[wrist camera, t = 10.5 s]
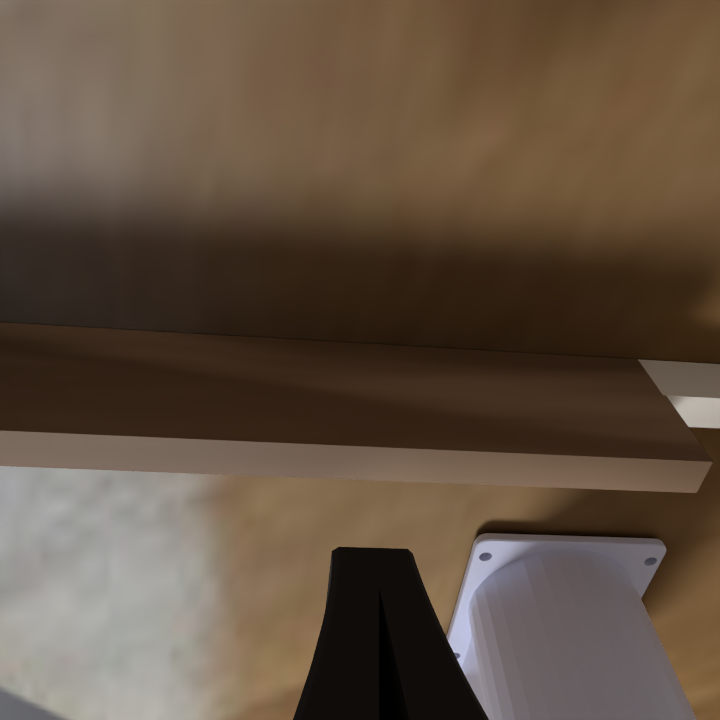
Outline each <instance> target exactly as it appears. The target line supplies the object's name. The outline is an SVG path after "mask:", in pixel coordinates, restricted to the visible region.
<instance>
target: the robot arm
mask: <svg viewBox="0 0 720 720" xmlns="http://www.w3.org/2000/svg"><path fill="white" fill-rule="evenodd" d="M665 553H666V547H665V545H664V544H663V542H662V541H661V540H660V539H653V538H622V537H591V536H560V535H529V534H498V533H485V534H482V535H479V536H478V537H477V538H476V539H475V541H474V544H473V547H472V551H471V554H470V558H469V561H468V565H467V568H466V572H465V575H464V579H463V582H462V585H461V589H460V592H459V596H458V599H457V603H456V606H455V610H454V613H453V617H452V620H451V624H450V627H449V631H448V634H447V638H446V636H445V634H444V632H443V629H442V627H441V625H440V623H439V621H438V618H437V616H436V614H435V611H434V609H433V607H432V604H431V602H430V600H429V597H428V595H427V592H426V590H425V587H424V585H423V582H422V579H421V577H420V574H419V571H418V568H417V565H416V562H415V559H414V556H413V554H412V553H411V552H410V551H409V550H408V549H391V548H357V547H338V548H336V549H335V550H333V551H332V556H331V565H330V574H329V583H328V592H327V601H326V610H325V614H324V619H323V623H322V627H321V631H320V635H319V638H318V642H317V646H316V650H315V653H314V657H313V661H312V664H311V667H310V671H309V674H308V677H307V680H306V683H305V686H304V689H303V692H302V695H301V698H300V701H299V704H298V707H297V710H296V713H295V716H294V718H293V720H697V719H696V717H695V715H694V712H693V710H692V708H691V706H690V704H689V702H688V699H687V697H686V695H685V693H684V691H683V689H682V686H681V684H680V682H679V680H678V678H677V676H676V673H675V671H674V669H673V667H672V665H671V663H670V660H669V658H668V656H667V654H666V652H665V650H664V647H663V645H662V643H661V641H660V639H659V637H658V634H657V632H656V630H655V628H654V626H653V624H652V621H651V619H650V617H649V615H648V613H647V611H646V608H645V606H644V604H643V602H642V600H641V598H642V596H643V594H644V593H645V591H646V589H647V587H648V585H649V583H650V581H651V579H652V578H653V576H654V574H655V572H656V570H657V568H658V566H659V565H660V563H661V561H662V559H663V557H664V555H665Z"/></svg>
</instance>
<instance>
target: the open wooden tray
mask: <svg viewBox="0 0 720 720" xmlns="http://www.w3.org/2000/svg"><path fill="white" fill-rule="evenodd" d="M712 463H713V461H712V460H711V458H710V457H709V455H708V454H707V452H706V451H705V450H704V448H703V447H702V445H701V444H700V443H699V441H698V440H697V438H696V437H695V435H694V434H693V433H692V431H691V430H690V428H689V427H688V426H687V424H686V423H685V421H684V420H683V419H682V417H681V416H680V414H679V413H678V411H677V410H676V409H675V407H674V406H673V404H672V403H671V402H670V400H669V399H668V397H667V396H666V395H663V394H662V393H661V392H660V390H659V389H658V387H657V386H656V384H655V383H654V382H653V380H652V379H651V377H650V376H649V374H648V373H647V372H646V370H645V369H644V367H643V366H642V364H641V363H640V362H639V360H638V359H623V358H606V357H589V356H572V355H554V354H537V353H520V352H503V351H486V350H469V349H451V348H434V347H417V346H400V345H383V344H366V343H348V342H331V341H314V340H297V339H280V338H263V337H246V336H228V335H211V334H194V333H177V332H160V331H143V330H125V329H108V328H91V327H74V326H57V325H40V324H23V323H5V322H0V466H18V467H44V468H69V469H95V470H120V471H146V472H171V473H197V474H222V475H248V476H273V477H299V478H324V479H350V480H375V481H401V482H426V483H452V484H477V485H503V486H528V487H554V488H579V489H605V490H630V491H656V492H681V493H697V491H698V489H699V487H700V486H701V484H702V482H703V480H704V478H705V476H706V474H707V473H708V471H709V469H710V467H711V465H712Z"/></svg>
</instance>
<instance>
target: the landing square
mask: <svg viewBox="0 0 720 720" xmlns="http://www.w3.org/2000/svg"><path fill="white" fill-rule="evenodd" d="M638 360H639V362H640V363H641V364H642V366H643V367H644V369H645V370H646V372H647V373H648V374H649V376H650V377H651V379H652V380H653V382H654V383H655V384H656V386H657V387H658V389H659V390H660V392H661V393H662V394H663V395H666V396H667V397H668V399H669V400H670V402H671V403H672V404H673V406H674V407H675V409H676V410H677V411H678V413H679V414H680V416H681V417H682V419H683V420H684V421H685V423H686V424H687V426H688V427H701V428H720V364H709V363H692V362H674V361H657V360H640V359H638Z"/></svg>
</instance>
